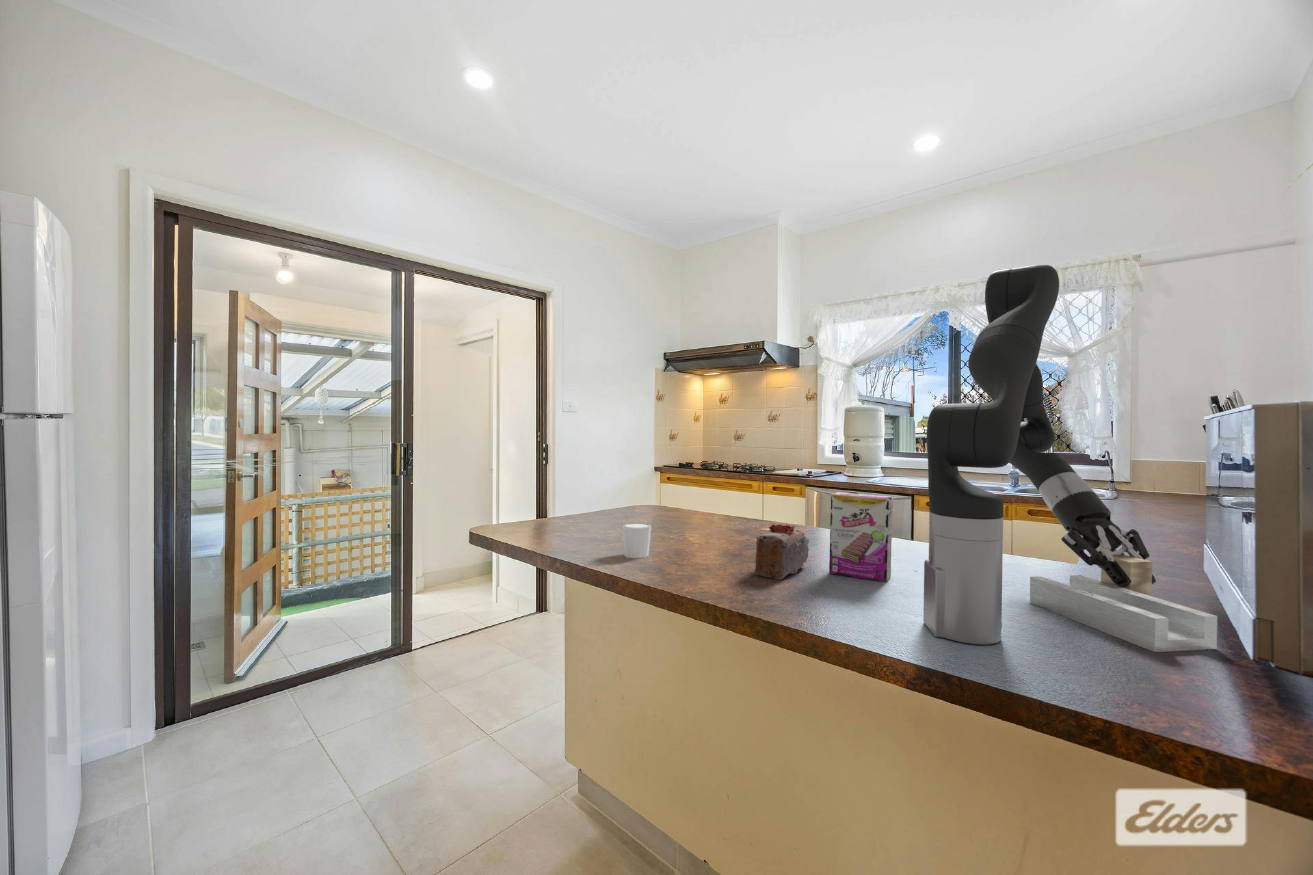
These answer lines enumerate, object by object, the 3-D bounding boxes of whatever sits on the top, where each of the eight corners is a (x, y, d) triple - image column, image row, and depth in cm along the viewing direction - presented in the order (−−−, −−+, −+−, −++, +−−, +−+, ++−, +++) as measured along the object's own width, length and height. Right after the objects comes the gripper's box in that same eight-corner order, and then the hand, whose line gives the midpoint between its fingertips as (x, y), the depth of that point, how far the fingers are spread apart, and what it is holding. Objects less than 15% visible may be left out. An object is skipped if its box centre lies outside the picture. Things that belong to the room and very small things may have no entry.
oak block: (1130, 610, 86) (1130, 562, 86) (1100, 600, 91) (1101, 554, 91) (1151, 609, 86) (1152, 561, 86) (1120, 599, 91) (1121, 554, 91)
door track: (1154, 652, 70) (1155, 618, 69) (1029, 602, 89) (1030, 576, 89) (1216, 648, 71) (1217, 615, 71) (1079, 600, 91) (1080, 575, 90)
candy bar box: (828, 574, 106) (829, 493, 106) (834, 569, 110) (835, 491, 110) (887, 583, 100) (889, 498, 100) (891, 577, 104) (893, 495, 104)
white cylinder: (618, 558, 118) (618, 527, 118) (625, 551, 125) (625, 522, 125) (648, 559, 117) (648, 528, 117) (653, 552, 124) (653, 523, 124)
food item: (775, 561, 116) (775, 517, 116) (810, 567, 112) (811, 521, 112) (751, 575, 105) (751, 526, 105) (790, 582, 101) (790, 531, 101)
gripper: (1051, 489, 95) (1116, 574, 83) (1120, 489, 97) (1194, 572, 85) (1026, 514, 100) (1084, 597, 88) (1092, 513, 102) (1158, 594, 90)
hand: (1137, 584), depth 87 cm, fingers closed on oak block, 4 cm apart
